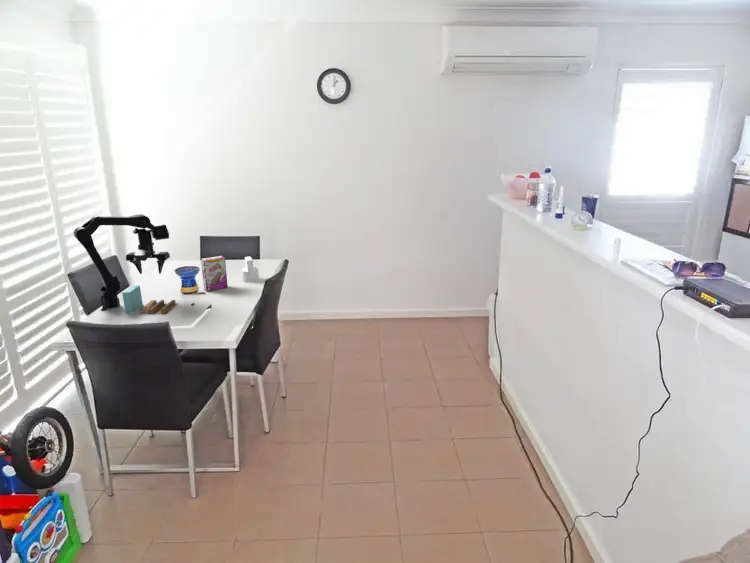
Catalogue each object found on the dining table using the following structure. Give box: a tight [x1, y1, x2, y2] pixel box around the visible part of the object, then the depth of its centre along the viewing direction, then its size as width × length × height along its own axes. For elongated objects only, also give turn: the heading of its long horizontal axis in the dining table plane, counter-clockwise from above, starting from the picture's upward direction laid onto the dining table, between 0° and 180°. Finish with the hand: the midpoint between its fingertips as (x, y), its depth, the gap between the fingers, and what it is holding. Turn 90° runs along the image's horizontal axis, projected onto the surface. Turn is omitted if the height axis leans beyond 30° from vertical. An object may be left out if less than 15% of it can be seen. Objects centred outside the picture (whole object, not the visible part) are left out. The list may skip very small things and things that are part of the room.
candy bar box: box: [200, 255, 228, 292], centre depth 256 cm, size 11×5×16 cm, turn 126°
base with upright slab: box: [240, 256, 260, 283], centre depth 270 cm, size 9×9×12 cm
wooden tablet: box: [189, 291, 212, 310], centre depth 240 cm, size 27×10×2 cm, turn 23°
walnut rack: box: [139, 299, 180, 316], centre depth 227 cm, size 12×14×3 cm
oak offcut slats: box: [141, 299, 158, 313], centre depth 227 cm, size 3×10×2 cm, turn 179°
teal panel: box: [121, 285, 144, 314], centre depth 226 cm, size 3×10×10 cm, turn 179°
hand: (150, 273), depth 239 cm, fingers open, 9 cm apart
